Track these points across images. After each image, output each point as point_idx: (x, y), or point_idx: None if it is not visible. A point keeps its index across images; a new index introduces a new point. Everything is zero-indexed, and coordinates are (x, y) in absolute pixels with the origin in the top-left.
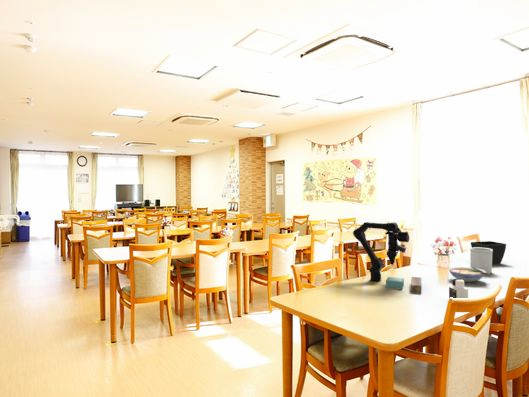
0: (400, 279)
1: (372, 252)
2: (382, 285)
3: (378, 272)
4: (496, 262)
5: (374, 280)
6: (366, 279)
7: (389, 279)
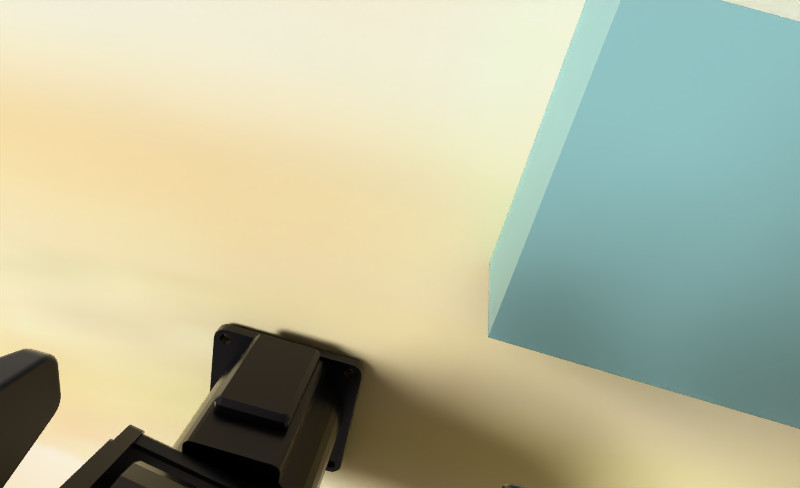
0: (777, 99)
1: None
2: None
3: (280, 479)
4: None
5: (349, 428)
6: None
7: (738, 353)
